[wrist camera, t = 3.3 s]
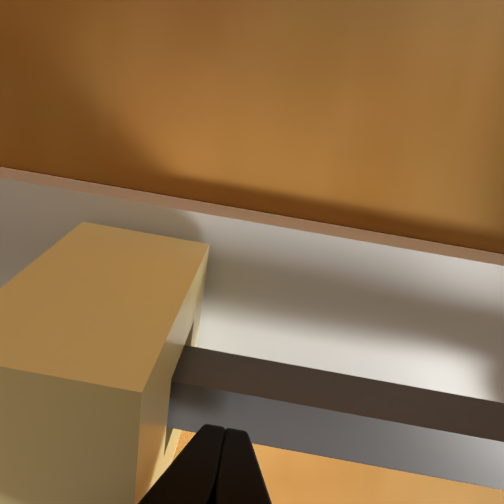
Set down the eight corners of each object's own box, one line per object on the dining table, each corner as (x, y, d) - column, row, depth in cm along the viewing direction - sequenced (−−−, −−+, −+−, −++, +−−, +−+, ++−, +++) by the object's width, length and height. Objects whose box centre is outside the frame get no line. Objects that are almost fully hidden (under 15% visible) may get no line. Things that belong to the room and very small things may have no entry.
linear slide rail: (650, 279, 11) (871, 425, 7) (550, 459, 14) (665, 650, 9) (-225, 127, 12) (-530, 175, 8) (-173, 325, 14) (-379, 448, 10)
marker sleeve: (209, 244, 11) (142, 392, 6) (189, 403, 13) (127, 607, 8) (82, 221, 11) (-78, 351, 6) (82, 384, 13) (-40, 574, 8)
